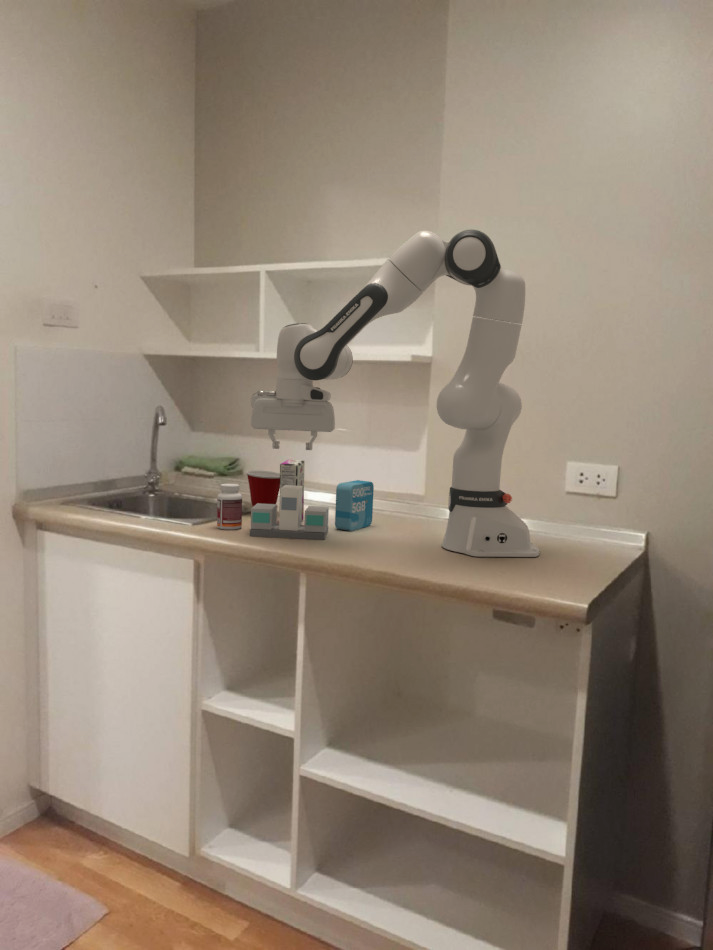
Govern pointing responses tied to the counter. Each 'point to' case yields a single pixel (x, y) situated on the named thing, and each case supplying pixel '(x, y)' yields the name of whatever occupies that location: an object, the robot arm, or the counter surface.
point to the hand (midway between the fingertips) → (292, 449)
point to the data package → (354, 505)
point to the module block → (290, 507)
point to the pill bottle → (229, 507)
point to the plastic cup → (263, 486)
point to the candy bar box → (293, 476)
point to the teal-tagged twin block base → (268, 527)
